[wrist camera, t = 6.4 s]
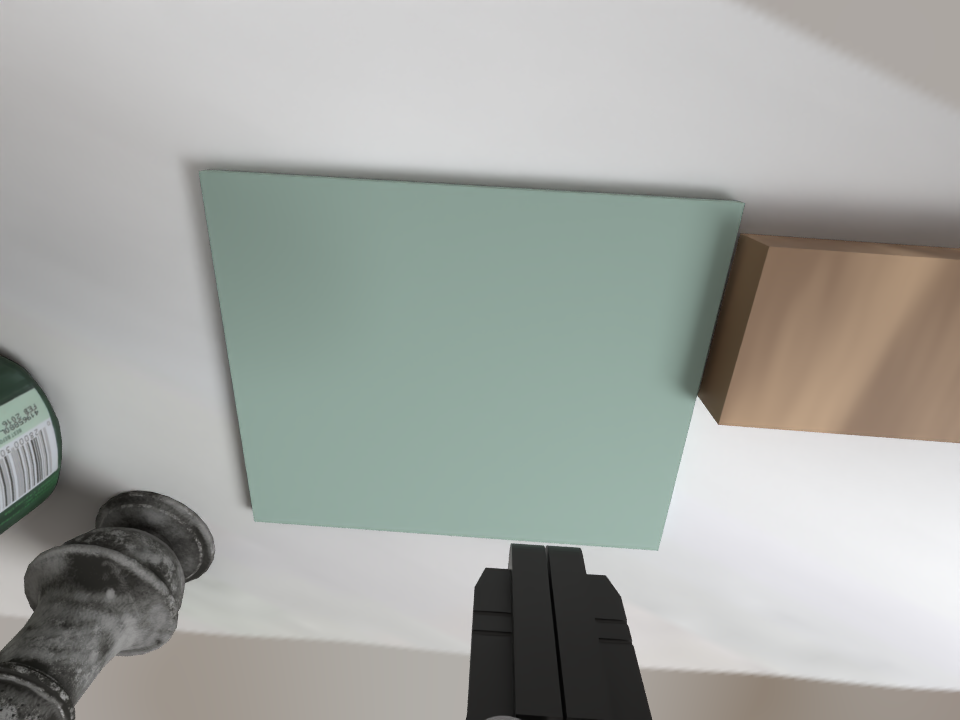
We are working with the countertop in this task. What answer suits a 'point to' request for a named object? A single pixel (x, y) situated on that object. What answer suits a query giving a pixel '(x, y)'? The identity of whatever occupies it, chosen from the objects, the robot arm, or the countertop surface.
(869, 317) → the slab
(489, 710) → the robot arm
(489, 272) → the mat
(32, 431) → the coffee jar
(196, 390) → the countertop surface
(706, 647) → the countertop surface
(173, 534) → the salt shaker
